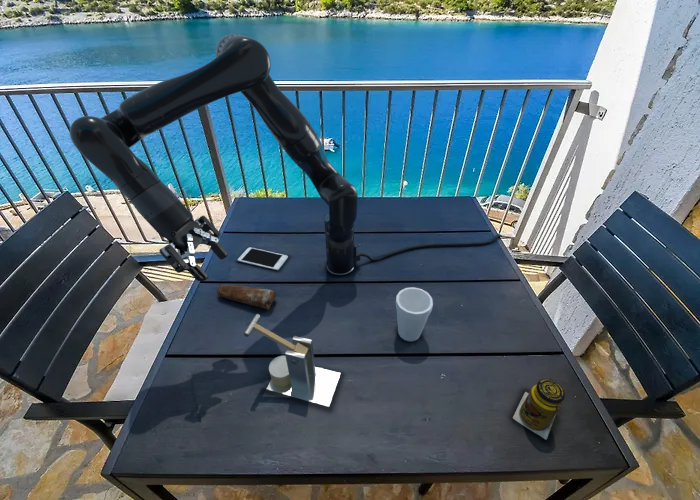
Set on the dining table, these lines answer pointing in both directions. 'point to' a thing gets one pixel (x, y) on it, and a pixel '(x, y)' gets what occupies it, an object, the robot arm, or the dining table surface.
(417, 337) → the foam cup
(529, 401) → the condiment
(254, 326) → the wood and metal t-shape
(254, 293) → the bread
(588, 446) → the dining table surface
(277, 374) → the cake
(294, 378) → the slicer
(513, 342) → the dining table surface
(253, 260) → the cell phone
